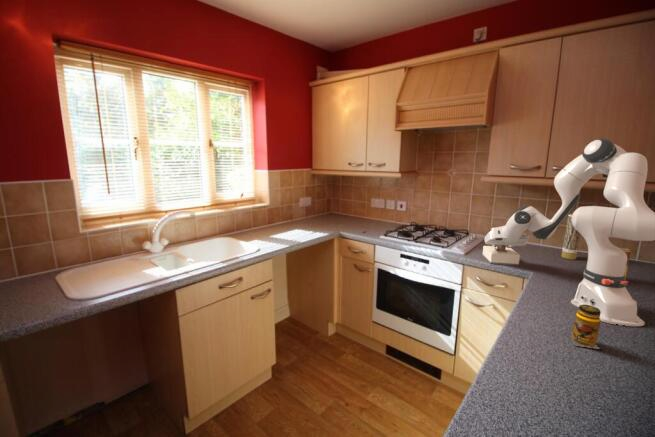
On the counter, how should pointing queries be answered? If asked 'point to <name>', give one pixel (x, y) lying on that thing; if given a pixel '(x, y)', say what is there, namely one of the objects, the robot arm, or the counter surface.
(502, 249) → the peg
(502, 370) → the counter surface
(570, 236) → the bark patterned cylinder
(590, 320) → the condiment
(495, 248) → the socket block
